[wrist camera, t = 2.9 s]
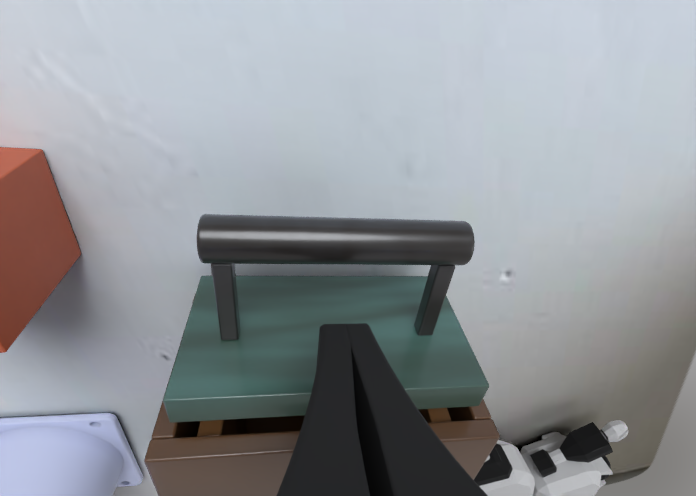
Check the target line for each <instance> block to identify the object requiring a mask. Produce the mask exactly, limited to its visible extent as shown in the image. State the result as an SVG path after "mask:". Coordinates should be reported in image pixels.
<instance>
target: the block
mask: <svg viewBox="0 0 696 496" xmlns="http://www.w3.org/2000/svg"><path fill="white" fill-rule="evenodd" d="M80 255H81V251H80V249H79V246H78V243H77V241H76V238H75V235H74V233H73V230H72V227H71V225H70V222H69V219H68V217H67V214H66V211H65V209H64V206H63V203H62V201H61V198H60V195H59V193H58V190H57V187H56V185H55V182H54V179H53V177H52V174H51V171H50V169H49V166H48V163H47V161H46V158H45V155H44V153H43V150H42V149H25V148H4V147H0V353H4V352H6V351H7V350H8V349H9V348H10V346H11V345H12V344H13V342H14V341H15V340H16V338H17V337H18V336H19V334H20V333H21V332H22V331H23V329H24V328H25V327H26V325H27V324H28V323H29V321H30V320H31V319H32V318H33V316H34V315H35V314H36V312H37V311H38V310H39V308H40V307H41V306H42V305H43V303H44V302H45V301H46V299H47V298H48V297H49V295H50V294H51V293H52V291H53V290H54V289H55V288H56V286H57V285H58V284H59V282H60V281H61V280H62V278H63V277H64V276H65V275H66V273H67V272H68V271H69V269H70V268H71V267H72V265H73V264H74V263H75V261H76V260H77V259H78V258H79V256H80Z"/></svg>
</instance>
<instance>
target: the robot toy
mask: <svg viewBox="0 0 696 496" xmlns="http://www.w3.org/2000/svg"><path fill="white" fill-rule="evenodd" d="M627 429H628V427H627V426H626V424H625V423H624V422H623V421H620V420H616V421H612V422H608V423H607V424H606V425H605V426H604V427H603V428H602V429H601V430H599V429H598V428H597V427H596V425H595V424H594V423H593V422H592V423H590V424H588V425H585V426H583V427H581V428H579V429H577V430H574V431H572V432H570V433H569V434H568V435H567V436H565V435H561V434H560V433H559V432H552V433H549V434H545V435H542V440H541V441H538V442H535V443H532V444H529V445H526V446H523V447H522V449H521V452H519V450H518V448H517V447H515V446H514V445H512V444H510V443H507V442H504V441H501V440H498V441H497V443H496V445H495V446H494V448H493V449H492V451H491V453H490V454H489V456H488V458H487V459H486V461H485V462H484V464H483V466H482V467H481V469H480V470H479V472H478V474H477V475H476V477H475V478H474V481H475V482H476V483H477V484H478V485H479V487H480V488H481V489H482V490H483V491H484V492H485V493H486V494H487V495H488V496H594V495H595V494H596V493H597V491H598V489H599V488H600V487H601V486H603V485H604V484H606V482H605V480H604V479H606V478H607V477H608V476H609V474H613V473H612V471H611V467H610V463H609V461H608V459H607V457H606V456H605V455H607V454H610V453H612V452H613V451H612V448H611V446H610V444H609V443H608V442H617V441H620V440H621V439H623V438H624V437H626V436H627V434H628V430H627Z"/></svg>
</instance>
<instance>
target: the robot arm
mask: <svg viewBox="0 0 696 496" xmlns="http://www.w3.org/2000/svg"><path fill="white" fill-rule="evenodd" d="M142 480H143V475H142V473H141V470H140V468H139V466H138V464H137V461H136V459H135V457H134V455H133V452H132V450H131V448H130V446H129V443H128V441H127V439H126V437H125V434H124V432H123V430H122V428H121V425H120V423H119V421H118V419H117V417H116V416H115V415H114V414H111V413H94V414H74V415H53V416H33V417H13V418H0V496H113V494H114V491H115V488H116V487H123V486H135V485H139V484H141V483H142ZM277 496H488V495H487V494H486V493H485V492H484V491H483V490H482V489H481V488H480V487H479V485H478V484H477V483H476V482H475V481H474V480H473V479H472V478H471V477H470V475H469V474H468V473H467V472H466V471H465V470H464V468H463V467H462V466H461V465H460V464H459V462H458V461H457V460H456V459H455V458H454V456H453V455H452V454H451V453H450V451H449V450H448V449H447V448H446V446H445V445H444V444H443V443H442V441H441V440H440V439H439V438H438V436H437V435H436V434H435V432H434V431H433V430H432V428H431V427H430V426H429V424H428V423H427V421H426V420H425V419H424V417H423V416H422V414H421V413H420V411H419V410H418V409H417V407H416V406H415V404H414V403H413V401H412V400H411V398H410V397H409V395H408V394H407V392H406V391H405V389H404V387H403V386H402V384H401V383H400V381H399V379H398V378H397V376H396V375H395V373H394V371H393V370H392V368H391V366H390V364H389V363H388V361H387V359H386V357H385V356H384V354H383V352H382V350H381V348H380V346H379V344H378V342H377V340H376V338H375V336H374V334H373V332H372V330H371V328H370V326H369V325H368V324H367V323H357V324H323V325H322V326H320V330H319V342H318V354H317V366H316V374H315V379H314V383H313V388H312V392H311V396H310V400H309V403H308V407H307V410H306V414H305V417H304V420H303V424H302V427H301V430H300V433H299V436H298V439H297V442H296V445H295V448H294V451H293V454H292V457H291V459H290V462H289V465H288V468H287V470H286V473H285V475H284V478H283V480H282V483H281V486H280V488H279V491H278V493H277Z"/></svg>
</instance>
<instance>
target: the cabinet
mask: <svg viewBox="0 0 696 496" xmlns="http://www.w3.org/2000/svg"><path fill="white" fill-rule="evenodd" d="M195 295H196V294H195ZM194 298H195V297H194ZM193 301H194V300H193ZM191 308H192V307H191ZM188 318H189V317H188ZM187 321H188V320H187ZM184 331H185V330H184ZM183 334H184V333H183ZM180 344H181V343H180ZM179 347H180V346H179ZM176 357H177V356H176ZM175 360H176V359H175ZM174 363H175V362H174ZM172 370H173V369H172ZM171 373H172V372H171ZM170 376H171V375H170ZM168 383H169V382H168ZM167 386H168V385H167ZM166 389H167V388H166ZM164 396H165V395H164ZM163 399H164V398H163ZM447 410H448V412H449V415H450V418H451V421H450V422H434V423H428V424H429V426H430V427H431V428H432V430H433V431H434V432H435V434H436V435H437V436H438V438H439V439H440V440H441V441H442V443H443V444H444V445H445V446H446V448H447V449H448V450H449V451H450V453H451V454H452V455H453V456H454V458H455V459H456V460H457V461H458V462H459V464H460V465H461V466H462V467H463V468H464V470H465V471H466V472H467V473H468V474H469V475H470V477H471V478H472V479H473V480H474V478H475V477H476V475H477V474H478V472H479V470H480V469H481V467H482V466H483V464H484V462H485V461H486V459H487V458H488V456H489V454H490V453H491V451H492V449H493V448H494V446H495V445H496V443H497V441H498V440H499V438H500V435H499V433H498V431H497V429H496V426H495V424H494V422H493V420H492V419H491V415H490V413H489V411H488V409H487V407H486V404H485V402H484V400H483V399H482V401H481V403H480V405H479V406H471V407H452V408H447ZM199 424H200V421H193V422H175V423H171V422H169V418H168V415H167V412H166V408H165V405H164V402H163V401H162V405H161V408H160V411H159V414H158V418H157V421H156V424H155V427H154V431H153V434H152V440H151V441H150V443H149V447H148V450H147V453H146V456H145V460H144V462H145V464H146V467H147V469H148V472H149V474H150V476H151V479H152V481H153V483H154V486H155V488H156V491H157V493H158V495H159V496H277V493H278V491H279V488H280V486H281V483H282V480H283V478H284V475H285V473H286V470H287V468H288V465H289V462H290V459H291V457H292V454H293V451H294V448H295V445H296V442H297V439H298V436H299V433H300V431H284V432H267V433H250V434H234V435H217V436H200V437H197V433H198V429H199Z"/></svg>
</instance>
